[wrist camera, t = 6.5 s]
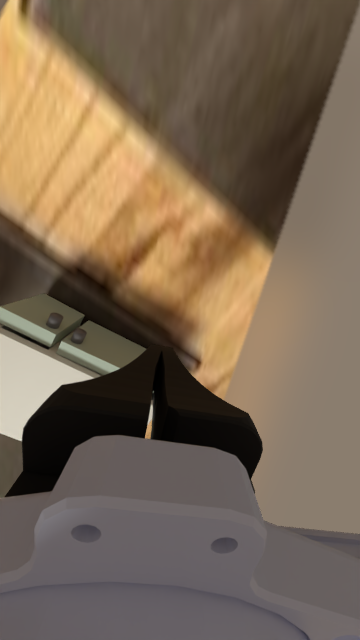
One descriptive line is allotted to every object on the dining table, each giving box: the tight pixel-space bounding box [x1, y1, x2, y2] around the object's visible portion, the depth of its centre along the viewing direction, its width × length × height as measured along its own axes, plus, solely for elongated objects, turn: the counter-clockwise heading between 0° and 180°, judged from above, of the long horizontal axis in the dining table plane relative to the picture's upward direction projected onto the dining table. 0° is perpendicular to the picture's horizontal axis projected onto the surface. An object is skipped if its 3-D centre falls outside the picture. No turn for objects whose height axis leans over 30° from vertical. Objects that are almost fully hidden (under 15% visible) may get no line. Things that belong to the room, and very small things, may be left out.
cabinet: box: [0, 294, 153, 441], centre depth 19 cm, size 11×14×6 cm
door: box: [56, 321, 154, 392], centre depth 18 cm, size 2×9×5 cm, turn 60°
